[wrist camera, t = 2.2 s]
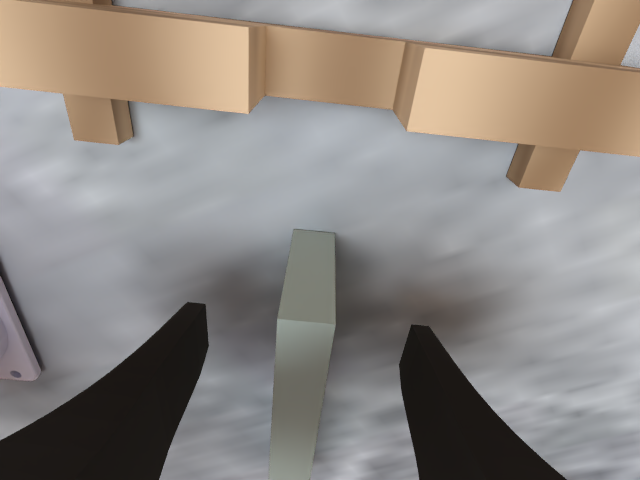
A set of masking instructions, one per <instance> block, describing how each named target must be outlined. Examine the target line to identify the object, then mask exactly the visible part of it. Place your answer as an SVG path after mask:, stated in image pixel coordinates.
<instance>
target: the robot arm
mask: <svg viewBox="0 0 640 480" xmlns="http://www.w3.org/2000/svg"><path fill="white" fill-rule="evenodd" d="M208 346H209V344H208V332H207V319H206V306H205V304H200V303H190V302H187V303H186V304H185V305H184V306H183V307H182V308H181V309H180V310H179V311H178V312H177V313H176V314H175V315H174V316H173V317H172V318H171V319H170V320H169V321H168V322H166V323H165V324H164V325H163V326H162V327H161V328H160V329H159V330H158V331H157V332H156V333H155V334H154V335H153V336H152V337H151V338H149V339H148V340H147V341H146V342H145V343H144V344H143V345H142V346H141V347H139V348H138V349H137V350H136V351H135V352H134V353H132V354H131V355H130V356H129V357H128V358H126V359H125V360H124V361H123V362H122V363H120V364H119V365H118V366H117V367H115V368H114V369H113V370H112V371H110V372H109V373H108V374H106V375H105V376H104V377H102V378H101V379H100V380H98V381H97V382H96V383H94V384H93V385H91V386H90V387H89V388H87V389H86V390H84V391H83V392H81V393H80V394H78V395H77V396H75V397H74V398H72V399H71V400H69V401H68V402H66V403H65V404H63V405H61V406H60V407H58V408H57V409H55V410H54V411H52V412H50V413H49V414H47V415H45V416H44V417H42V418H40V419H38V420H37V421H35V422H33V423H32V424H30V425H28V426H26V427H24V428H23V429H21V430H19V431H17V432H15V433H14V434H12V435H10V436H8V437H6V438H4V439H2V440H0V480H159V478H160V475H161V472H162V469H163V466H164V462H165V459H166V456H167V453H168V450H169V448H170V445H171V442H172V440H173V437H174V435H175V432H176V430H177V428H178V425H179V423H180V421H181V418H182V416H183V414H184V411H185V409H186V407H187V404H188V402H189V400H190V397H191V395H192V393H193V390H194V388H195V386H196V383H197V381H198V379H199V376H200V374H201V370H202V367H203V364H204V361H205V357H206V353H207V350H208ZM399 368H400V380H401V390H402V396H403V401H404V406H405V410H406V415H407V420H408V424H409V429H410V433H411V438H412V442H413V447H414V452H415V456H416V461H417V467H418V473H419V480H567V479H565V478H564V477H563V476H562V475H561V474H559V473H558V472H557V471H556V470H555V469H554V468H552V467H551V466H550V465H549V464H548V463H547V462H545V461H544V460H543V459H542V458H541V457H540V456H539V455H538V454H537V453H536V452H534V451H533V450H532V449H531V448H530V447H529V446H528V445H527V444H526V443H525V442H524V441H523V440H522V439H521V438H520V437H518V436H517V435H516V434H515V433H514V432H513V431H512V430H511V429H510V427H509V426H508V425H507V424H506V423H505V422H504V421H503V420H502V419H501V418H500V417H499V416H498V415H497V414H496V413H495V412H494V411H493V410H492V408H491V407H490V406H489V405H488V404H487V403H486V402H485V400H484V399H483V398H482V397H481V396H480V394H479V393H478V392H477V391H476V390H475V388H474V387H473V386H472V385H471V383H470V382H469V381H468V380H467V378H466V377H465V376H464V374H463V373H462V372H461V370H460V369H459V368H458V366H457V365H456V364H455V362H454V361H453V360H452V358H451V357H450V355H449V354H448V353H447V351H446V350H445V348H444V347H443V346H442V344H441V343H440V341H439V340H438V338H437V337H436V336H435V334H434V333H433V331H432V330H431V328H430V327H429V326H421V325H411V328H410V331H409V334H408V338H407V341H406V344H405V347H404V351H403V354H402V357H401V360H400V363H399ZM40 374H41V369H40V367H39V365H38V362H37V360H36V358H35V355H34V353H33V351H32V348H31V346H30V344H29V341H28V339H27V337H26V334H25V332H24V330H23V327H22V325H21V323H20V320H19V318H18V316H17V313H16V311H15V309H14V306H13V304H12V302H11V299H10V297H9V295H8V292H7V290H6V288H5V285H4V283H3V281H2V278H1V276H0V379H11V380H22V381H34V380H36V379H37V378H38V377H39V375H40Z"/></svg>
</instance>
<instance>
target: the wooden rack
mask: <svg viewBox="0 0 640 480" xmlns="http://www.w3.org/2000/svg"><path fill="white" fill-rule="evenodd" d="M639 24H640V0H573V3H572V5H571V8H570V10H569V13H568V16H567V18H566V21H565V24H564V26H563V29H562V31H561V34H560V37H559V39H558V42H557V45H556V47H555V50H554V52H553V55H552V56H544V55H535V54H526V53H518V52H509V51H500V50H492V49H483V48H475V47H466V46H457V45H449V44H440V43H432V42H423V41H414V40H406V39H397V38H389V37H380V36H371V35H363V34H354V33H346V32H337V31H328V30H320V29H311V28H303V27H294V26H285V25H277V24H268V23H260V22H251V21H242V20H234V19H225V18H217V17H208V16H199V15H191V14H182V13H174V12H165V11H156V10H148V9H139V8H131V7H122V6H113V5H112V1H111V0H0V87H8V88H17V89H26V90H36V91H45V92H54V93H63V96H64V100H65V104H66V108H67V112H68V116H69V121H70V125H71V129H72V133H73V137H74V140H78V141H87V142H96V143H106V144H115V145H119V144H121V143H123V142H125V141H126V140H128V139H130V138H131V137H133V131H132V125H131V119H130V113H129V106H128V101H136V102H145V103H154V104H163V105H172V106H182V107H191V108H200V109H209V110H218V111H227V112H236V113H245V114H249V113H250V112H251V110H252V109H253V108H254V107H255V106H256V105H257V104H258V103H259V101H260V100H261V99H262V98H263V97H264V96H274V97H283V98H292V99H301V100H310V101H319V102H328V103H337V104H346V105H355V106H364V107H373V108H382V109H391V110H393V111H394V113H395V114H396V116H397V117H398V119H399V120H400V122H401V123H402V125H403V126H404V128H405V129H406V131H410V132H419V133H428V134H437V135H446V136H455V137H464V138H474V139H483V140H492V141H501V142H510V143H519V144H518V147H517V149H516V152H515V155H514V157H513V160H512V163H511V165H510V168H509V170H508V173H507V176H506V177H508V178H509V179H510V180H511V181H512V182H513V183H514V184H515V185H516V186H518V187H519V188H529V189H538V190H548V191H557V192H560V191H561V189H562V187H563V185H564V183H565V181H566V179H567V177H568V174H569V172H570V170H571V168H572V166H573V164H574V162H575V160H576V158H577V155H578V153H579V151H580V150H583V151H592V152H601V153H610V154H620V155H629V156H638V157H640V68H634V67H628V66H622V65H620V64H621V62H622V60H623V58H624V56H625V54H626V52H627V49H628V47H629V45H630V43H631V41H632V39H633V37H634V35H635V33H636V30H637V28H638V26H639Z"/></svg>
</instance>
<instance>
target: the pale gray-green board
mask: <svg viewBox="0 0 640 480" xmlns="http://www.w3.org/2000/svg"><path fill="white" fill-rule="evenodd" d="M335 326H336V305H335V233H327V232H317V231H307V230H297V229H294V231H293V236H292V242H291V247H290V253H289V258H288V263H287V269H286V274H285V280H284V285H283V290H282V296H281V301H280V307H279V312H278V317H277V332H276V351H275V369H274V387H273V406H272V424H271V443H270V461H269V480H310V477H311V471H312V465H313V459H314V452H315V446H316V440H317V434H318V428H319V422H320V416H321V410H322V404H323V398H324V392H325V386H326V380H327V374H328V368H329V362H330V356H331V350H332V344H333V338H334V332H335Z"/></svg>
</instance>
